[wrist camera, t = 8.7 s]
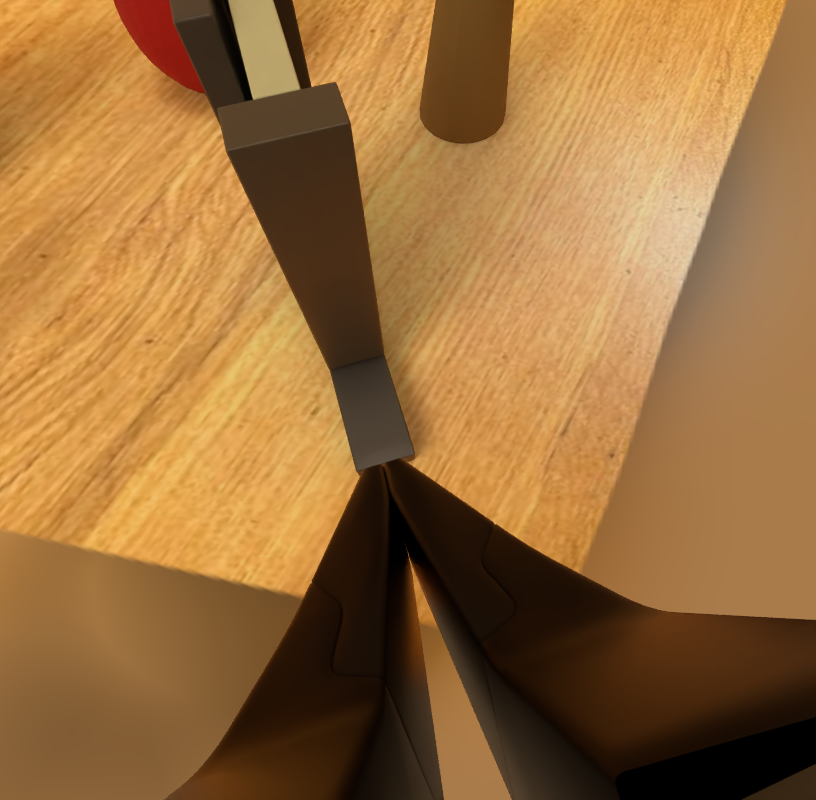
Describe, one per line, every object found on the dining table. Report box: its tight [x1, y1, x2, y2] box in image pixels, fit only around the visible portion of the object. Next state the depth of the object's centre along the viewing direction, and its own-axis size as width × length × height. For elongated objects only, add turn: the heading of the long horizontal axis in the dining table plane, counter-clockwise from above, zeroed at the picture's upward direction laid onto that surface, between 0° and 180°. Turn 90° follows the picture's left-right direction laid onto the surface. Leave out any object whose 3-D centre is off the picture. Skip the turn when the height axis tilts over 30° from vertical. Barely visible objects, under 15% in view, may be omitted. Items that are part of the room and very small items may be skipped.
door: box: [217, 0, 384, 369], centre depth 18 cm, size 10×3×13 cm, turn 17°
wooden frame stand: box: [169, 0, 415, 475], centre depth 18 cm, size 17×4×15 cm, turn 17°
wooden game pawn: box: [420, 0, 514, 143], centre depth 25 cm, size 6×6×11 cm
